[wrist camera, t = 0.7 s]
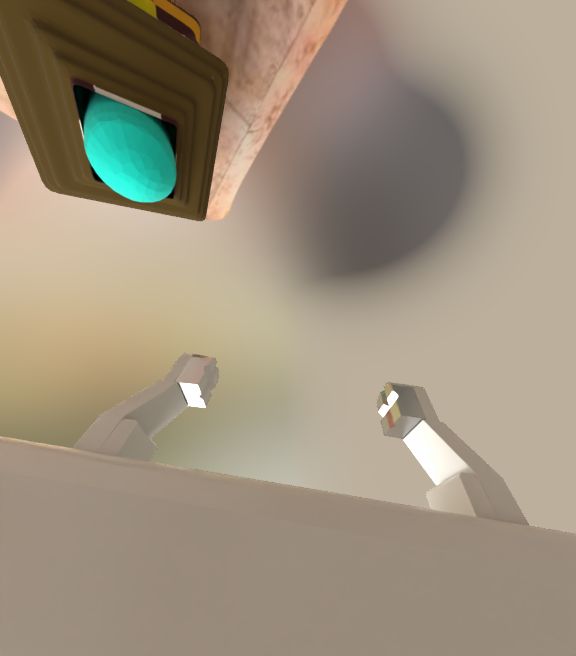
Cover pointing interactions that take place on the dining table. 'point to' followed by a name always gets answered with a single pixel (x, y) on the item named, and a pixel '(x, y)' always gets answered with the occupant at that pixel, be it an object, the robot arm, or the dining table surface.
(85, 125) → the decorative lantern
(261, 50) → the dining table surface
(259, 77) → the dining table surface
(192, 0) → the dining table surface
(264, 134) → the dining table surface
